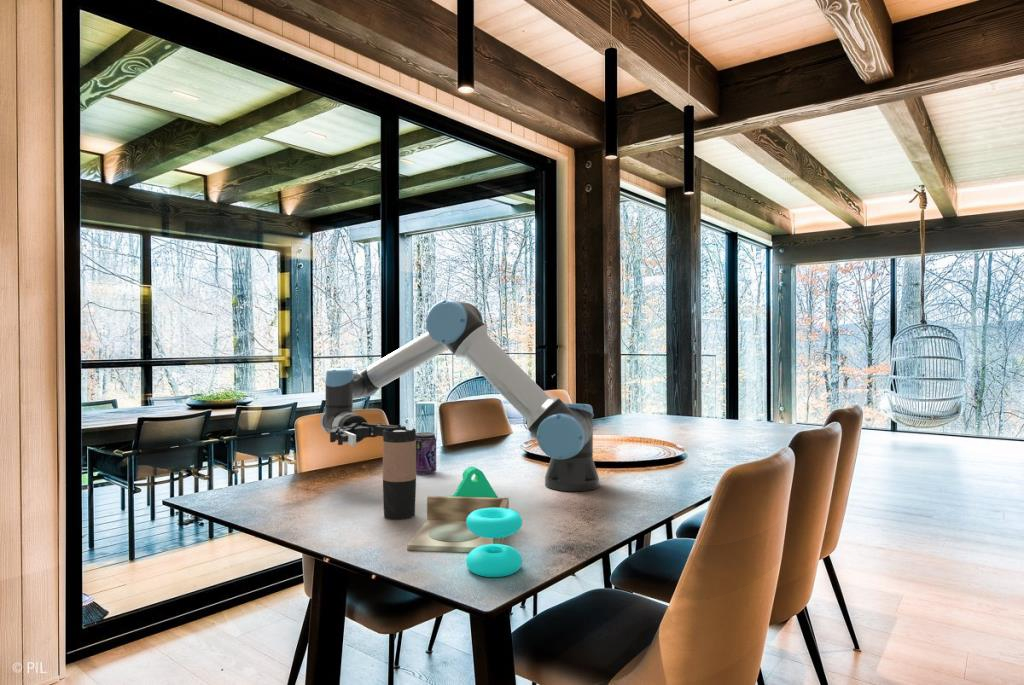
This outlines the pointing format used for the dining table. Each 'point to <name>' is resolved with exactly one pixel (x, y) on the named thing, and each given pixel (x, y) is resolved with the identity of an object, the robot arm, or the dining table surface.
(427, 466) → the beverage can
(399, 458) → the travel mug
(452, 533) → the corner tray
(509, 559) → the donuts
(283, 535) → the dining table surface
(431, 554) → the dining table surface
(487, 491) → the camera mount
